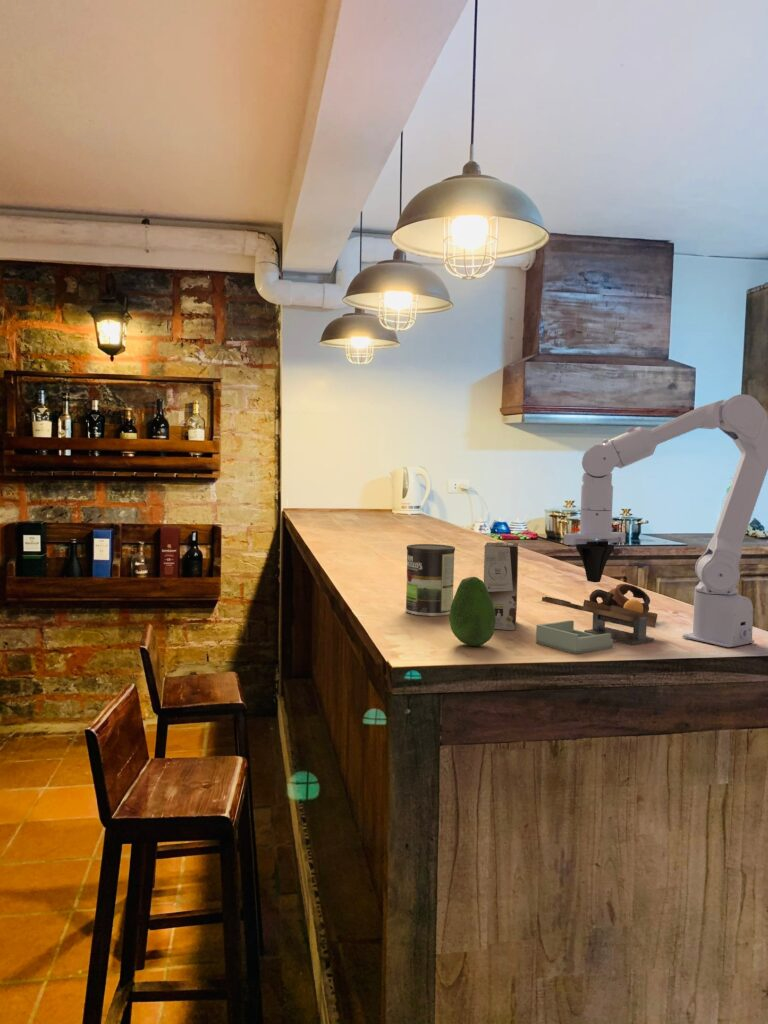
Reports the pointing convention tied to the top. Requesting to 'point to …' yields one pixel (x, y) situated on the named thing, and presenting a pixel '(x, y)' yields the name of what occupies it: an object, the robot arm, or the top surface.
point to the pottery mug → (620, 596)
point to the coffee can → (429, 579)
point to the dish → (571, 638)
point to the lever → (608, 612)
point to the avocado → (472, 613)
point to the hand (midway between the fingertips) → (593, 581)
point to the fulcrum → (622, 636)
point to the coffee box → (502, 581)
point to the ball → (634, 605)
